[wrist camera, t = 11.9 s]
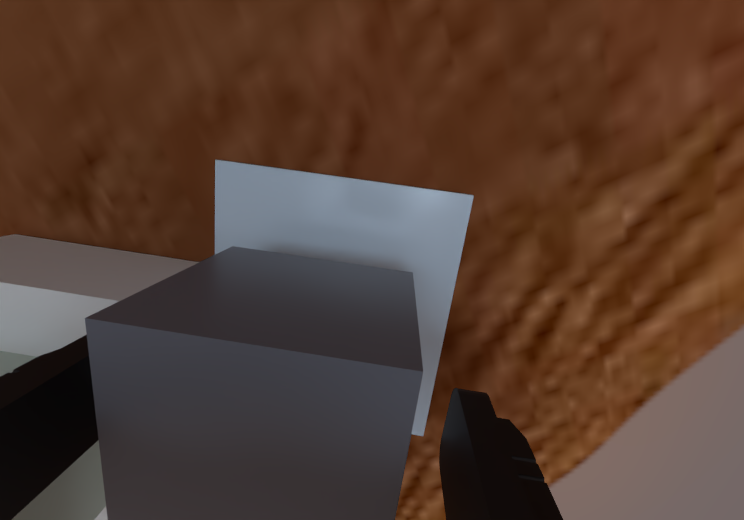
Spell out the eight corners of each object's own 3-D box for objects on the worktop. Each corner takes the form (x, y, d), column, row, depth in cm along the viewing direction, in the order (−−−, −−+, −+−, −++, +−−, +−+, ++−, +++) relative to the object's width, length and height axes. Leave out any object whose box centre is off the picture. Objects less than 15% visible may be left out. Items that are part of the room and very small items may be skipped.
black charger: (258, 360, 14) (112, 560, 7) (263, 231, 13) (84, 318, 5) (389, 381, 14) (377, 610, 7) (410, 252, 12) (423, 371, 5)
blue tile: (219, 394, 15) (214, 400, 15) (221, 159, 12) (215, 159, 12) (422, 429, 15) (423, 436, 14) (471, 194, 12) (473, 195, 12)
